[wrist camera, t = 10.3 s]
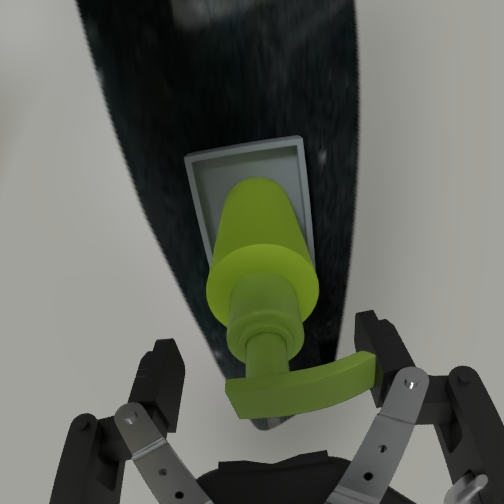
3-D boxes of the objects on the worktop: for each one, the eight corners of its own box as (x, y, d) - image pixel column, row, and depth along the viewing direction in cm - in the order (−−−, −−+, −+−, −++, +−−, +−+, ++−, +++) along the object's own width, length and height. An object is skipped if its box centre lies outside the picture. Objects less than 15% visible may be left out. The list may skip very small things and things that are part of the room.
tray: (187, 153, 26) (183, 157, 25) (298, 135, 26) (302, 138, 24) (215, 273, 32) (214, 284, 30) (311, 259, 31) (315, 269, 30)
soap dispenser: (307, 229, 29) (376, 421, 11) (233, 246, 30) (216, 448, 12) (294, 167, 27) (381, 320, 9) (215, 186, 27) (158, 362, 9)
